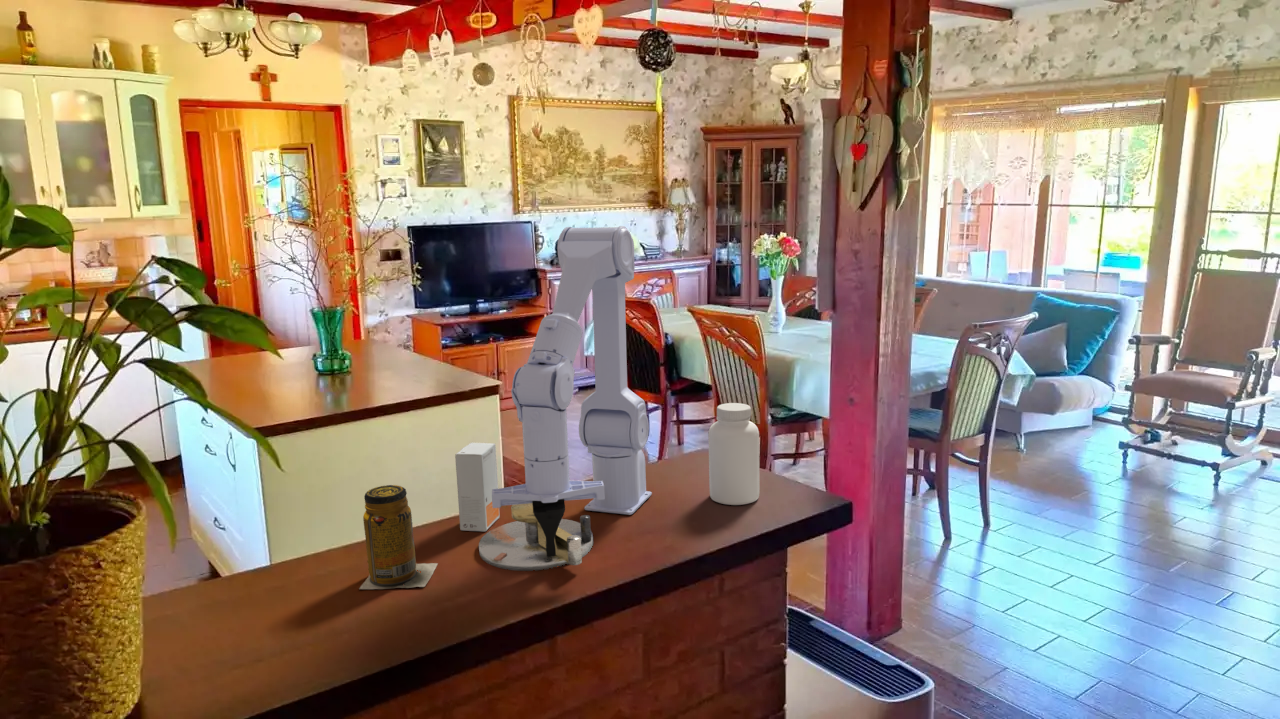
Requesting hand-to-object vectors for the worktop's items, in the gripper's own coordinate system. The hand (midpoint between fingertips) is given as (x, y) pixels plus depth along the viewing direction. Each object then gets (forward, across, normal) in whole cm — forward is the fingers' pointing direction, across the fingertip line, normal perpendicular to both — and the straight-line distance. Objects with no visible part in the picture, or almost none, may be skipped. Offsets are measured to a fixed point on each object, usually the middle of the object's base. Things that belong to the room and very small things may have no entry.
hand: (551, 553), depth 115 cm
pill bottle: (+2, +30, +20) cm, 36 cm away
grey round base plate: (+2, -2, +8) cm, 8 cm away
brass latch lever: (+1, 0, +4) cm, 4 cm away
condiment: (+2, -20, +2) cm, 20 cm away
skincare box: (+2, -10, +18) cm, 21 cm away
